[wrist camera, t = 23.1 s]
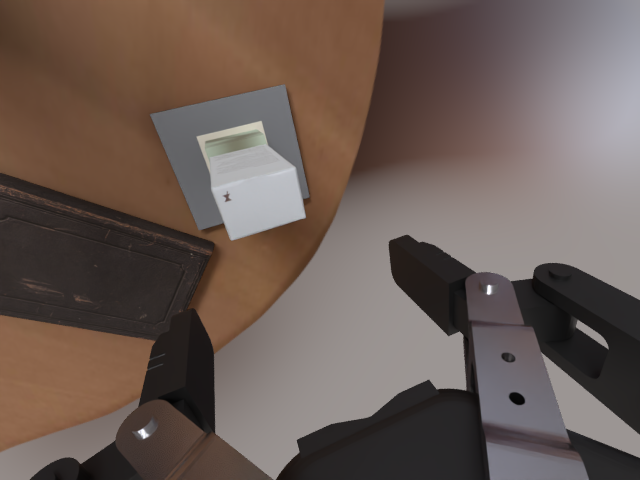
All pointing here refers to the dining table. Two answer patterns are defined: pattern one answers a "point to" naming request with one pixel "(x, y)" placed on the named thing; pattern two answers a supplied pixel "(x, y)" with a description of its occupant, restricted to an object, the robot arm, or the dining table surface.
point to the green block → (234, 143)
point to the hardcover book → (92, 264)
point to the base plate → (219, 121)
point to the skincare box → (255, 190)
